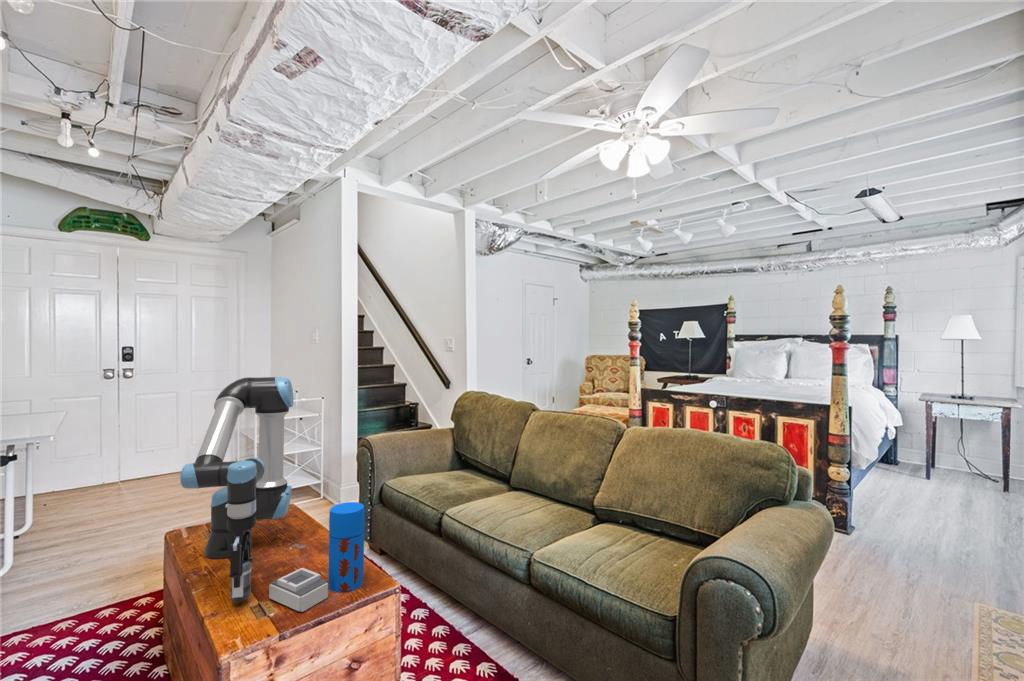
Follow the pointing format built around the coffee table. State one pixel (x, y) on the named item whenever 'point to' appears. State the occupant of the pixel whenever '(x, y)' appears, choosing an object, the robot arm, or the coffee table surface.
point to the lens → (244, 582)
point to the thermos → (346, 547)
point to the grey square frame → (299, 589)
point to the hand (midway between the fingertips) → (240, 590)
